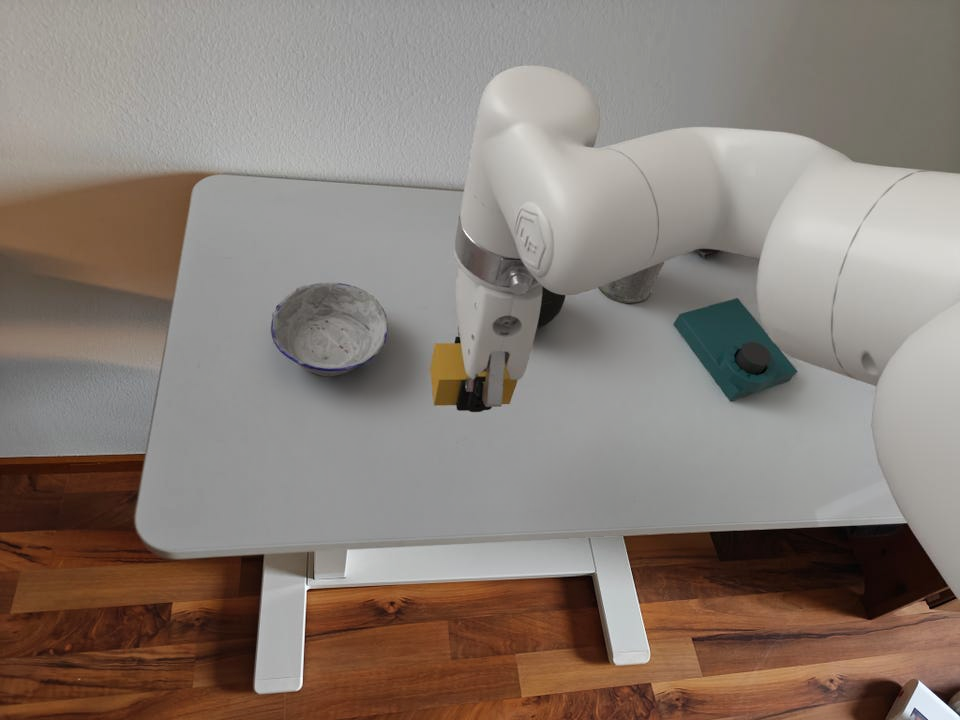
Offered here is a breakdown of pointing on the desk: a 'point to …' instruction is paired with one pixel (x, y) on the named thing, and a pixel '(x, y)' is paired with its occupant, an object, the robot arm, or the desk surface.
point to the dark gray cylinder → (753, 358)
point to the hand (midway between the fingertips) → (470, 385)
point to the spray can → (633, 285)
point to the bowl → (329, 327)
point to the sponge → (456, 375)
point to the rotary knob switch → (732, 347)
